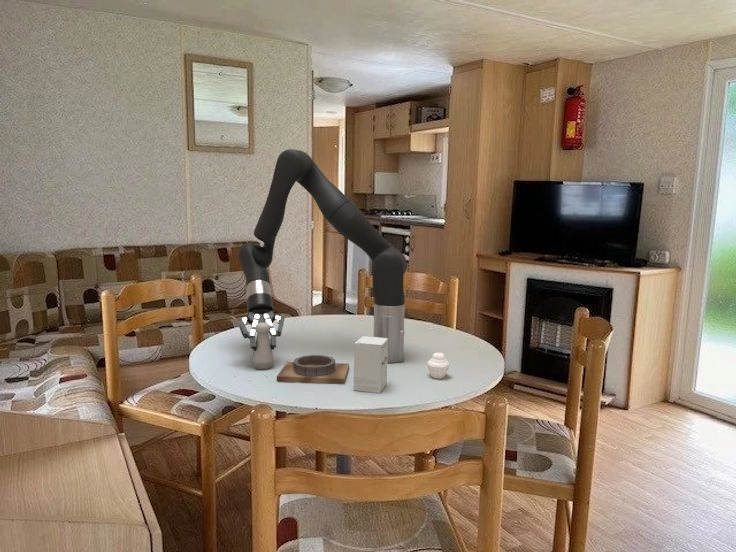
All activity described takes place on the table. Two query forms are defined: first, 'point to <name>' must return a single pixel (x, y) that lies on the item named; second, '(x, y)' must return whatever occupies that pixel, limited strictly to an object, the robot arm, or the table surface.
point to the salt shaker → (263, 347)
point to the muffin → (438, 365)
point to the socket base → (314, 370)
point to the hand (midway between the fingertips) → (263, 348)
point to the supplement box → (370, 364)
